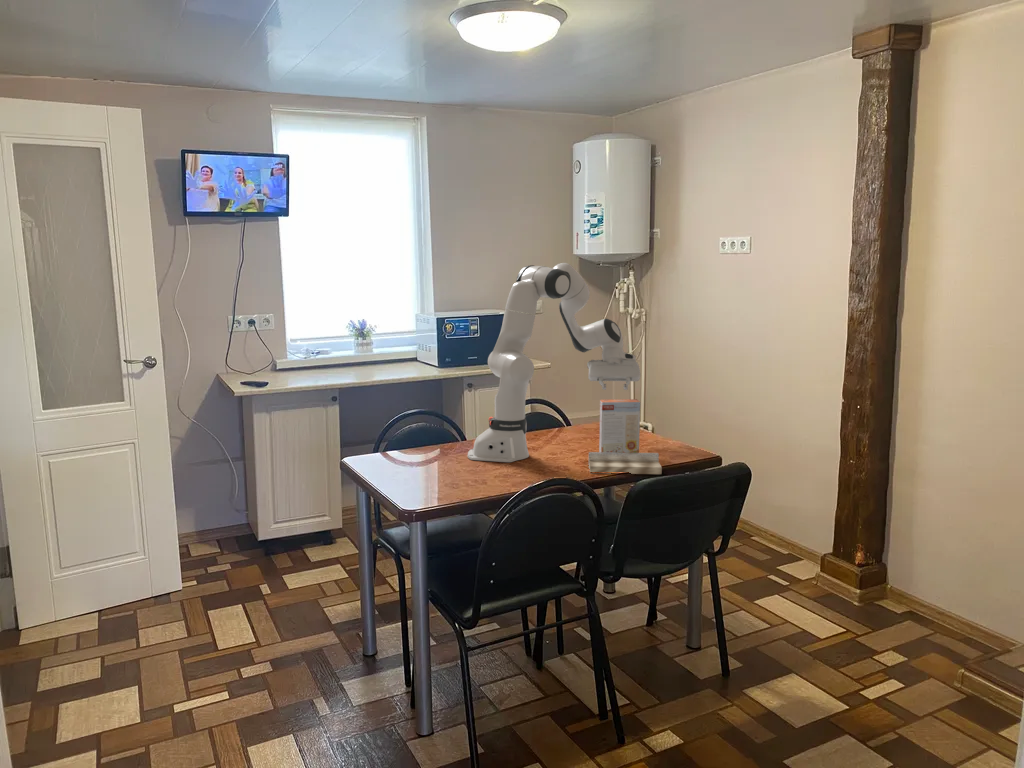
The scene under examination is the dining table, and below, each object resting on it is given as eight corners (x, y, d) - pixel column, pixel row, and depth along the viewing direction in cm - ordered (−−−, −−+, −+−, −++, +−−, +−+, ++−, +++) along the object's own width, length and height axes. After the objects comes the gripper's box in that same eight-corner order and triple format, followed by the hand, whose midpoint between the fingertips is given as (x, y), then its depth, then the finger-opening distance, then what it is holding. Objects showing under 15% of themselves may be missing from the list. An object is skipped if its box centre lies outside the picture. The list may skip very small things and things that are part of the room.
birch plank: (590, 473, 262) (590, 466, 262) (588, 467, 269) (589, 460, 269) (661, 474, 262) (661, 467, 261) (658, 468, 269) (658, 461, 268)
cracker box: (635, 453, 288) (637, 398, 284) (639, 458, 282) (641, 401, 278) (598, 453, 288) (599, 398, 284) (600, 458, 282) (602, 401, 278)
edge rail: (588, 467, 269) (589, 453, 268) (588, 465, 271) (588, 452, 270) (658, 468, 269) (658, 454, 268) (657, 466, 271) (657, 452, 270)
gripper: (587, 355, 306) (588, 383, 298) (639, 355, 305) (642, 384, 297) (586, 364, 311) (587, 393, 303) (637, 365, 310) (640, 393, 302)
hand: (615, 388), depth 300 cm, fingers open, 7 cm apart
